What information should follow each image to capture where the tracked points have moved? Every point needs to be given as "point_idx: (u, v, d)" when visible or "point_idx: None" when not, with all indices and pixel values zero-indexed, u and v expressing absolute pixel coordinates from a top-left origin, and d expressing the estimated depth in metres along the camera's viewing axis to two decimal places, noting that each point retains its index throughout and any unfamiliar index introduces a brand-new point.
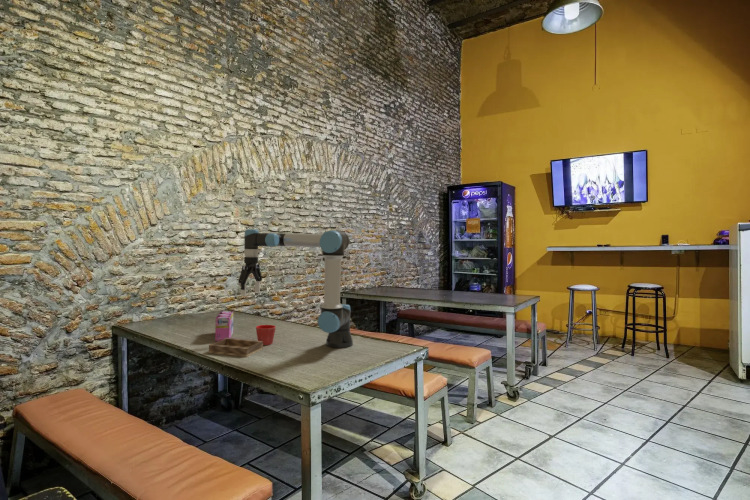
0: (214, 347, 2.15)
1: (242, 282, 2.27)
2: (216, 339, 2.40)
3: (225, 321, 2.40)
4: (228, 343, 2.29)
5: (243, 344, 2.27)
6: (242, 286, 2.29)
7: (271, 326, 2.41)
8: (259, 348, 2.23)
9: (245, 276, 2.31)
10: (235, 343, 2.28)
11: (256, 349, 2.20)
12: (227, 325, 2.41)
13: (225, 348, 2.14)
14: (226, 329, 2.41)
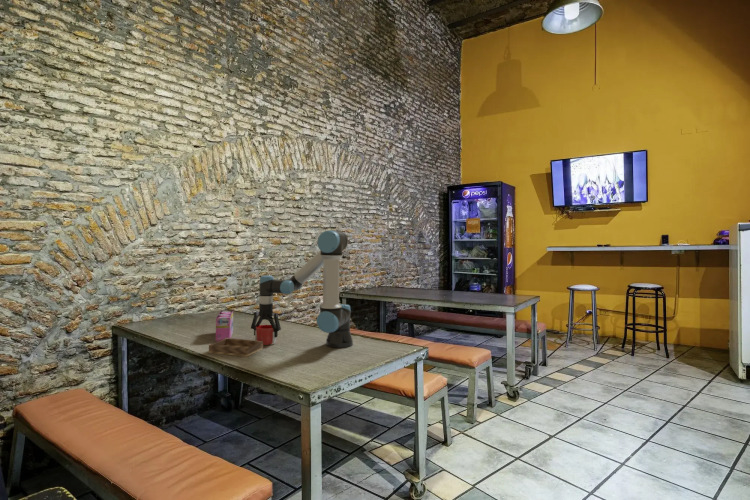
0: (214, 347, 2.15)
1: (251, 328, 2.37)
2: (216, 339, 2.39)
3: (226, 321, 2.40)
4: (228, 343, 2.29)
5: (243, 344, 2.27)
6: None
7: (271, 326, 2.41)
8: (259, 348, 2.23)
9: None
10: (235, 343, 2.28)
11: (256, 349, 2.20)
12: (227, 325, 2.41)
13: (225, 348, 2.14)
14: (226, 329, 2.40)
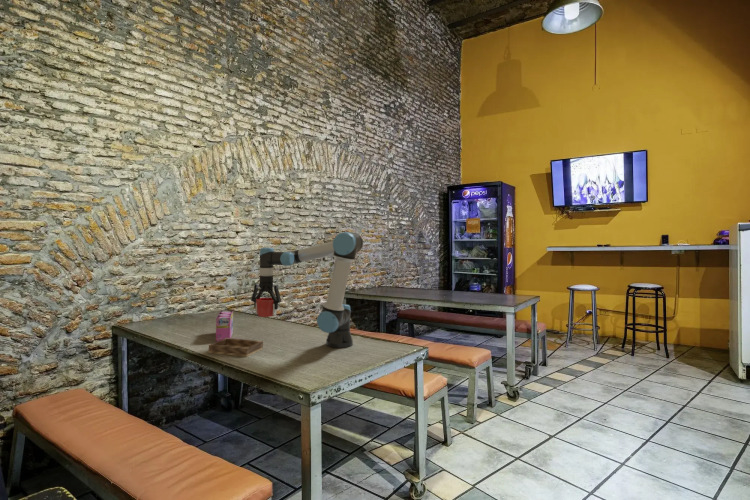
0: (214, 347, 2.15)
1: (251, 300, 2.37)
2: (217, 339, 2.39)
3: (226, 321, 2.40)
4: (228, 343, 2.29)
5: (243, 344, 2.27)
6: None
7: (271, 299, 2.40)
8: (259, 348, 2.23)
9: (257, 295, 2.37)
10: (235, 343, 2.28)
11: (256, 349, 2.20)
12: (228, 325, 2.40)
13: (225, 348, 2.14)
14: (227, 329, 2.40)
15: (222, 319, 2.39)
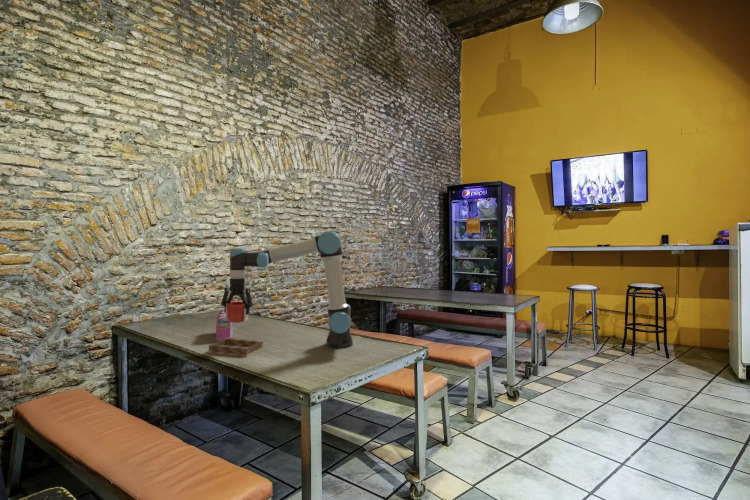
0: (214, 347, 2.15)
1: (221, 304, 2.21)
2: (217, 339, 2.39)
3: (226, 321, 2.40)
4: (228, 343, 2.29)
5: (243, 344, 2.27)
6: None
7: None
8: (259, 348, 2.23)
9: (228, 299, 2.21)
10: (235, 343, 2.28)
11: (256, 349, 2.20)
12: (228, 325, 2.40)
13: (225, 348, 2.14)
14: (227, 329, 2.40)
15: (222, 319, 2.39)
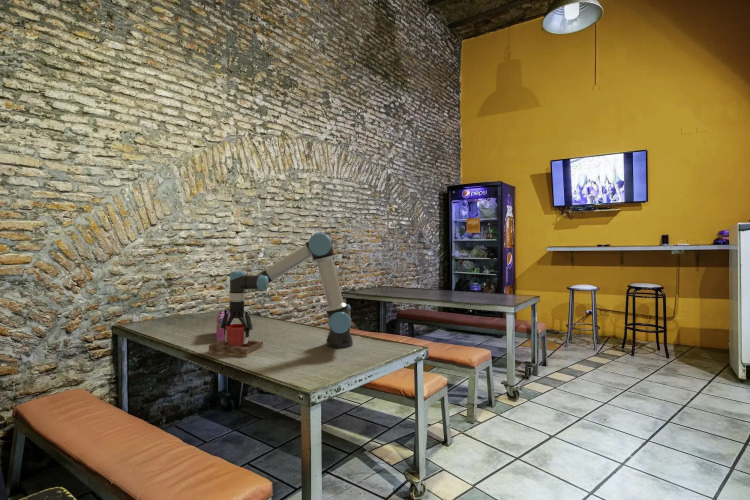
0: (214, 347, 2.15)
1: (221, 327, 2.22)
2: (217, 339, 2.39)
3: None
4: None
5: (243, 344, 2.27)
6: None
7: None
8: (259, 348, 2.23)
9: None
10: None
11: (256, 349, 2.20)
12: None
13: (225, 348, 2.14)
14: None
15: None
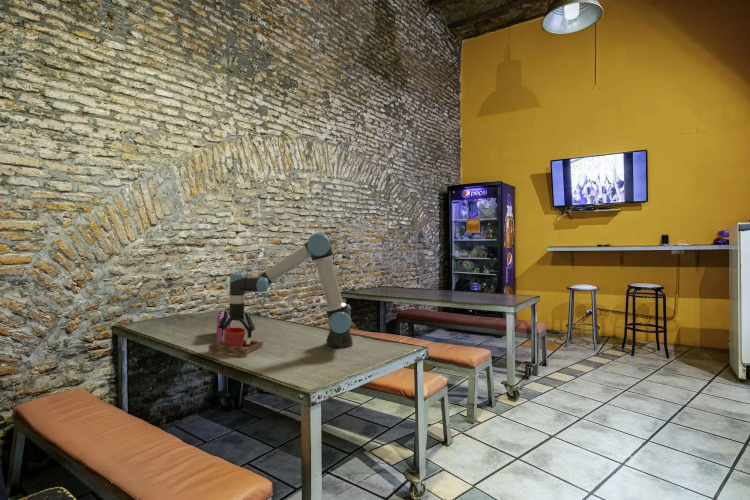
0: (214, 347, 2.15)
1: None
2: (217, 339, 2.39)
3: None
4: None
5: (243, 344, 2.27)
6: None
7: (241, 329, 2.25)
8: (259, 348, 2.23)
9: (226, 322, 2.22)
10: None
11: (256, 349, 2.20)
12: (228, 325, 2.40)
13: (225, 348, 2.14)
14: None
15: None
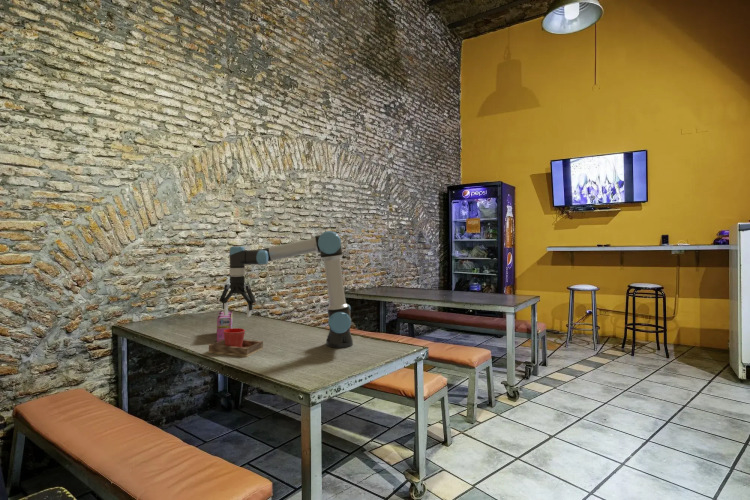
0: (214, 347, 2.15)
1: None
2: (218, 339, 2.39)
3: (227, 321, 2.40)
4: None
5: (243, 344, 2.27)
6: None
7: (240, 330, 2.26)
8: (259, 348, 2.23)
9: (227, 295, 2.21)
10: None
11: (256, 349, 2.20)
12: (229, 325, 2.40)
13: (225, 348, 2.14)
14: None
15: (223, 319, 2.39)
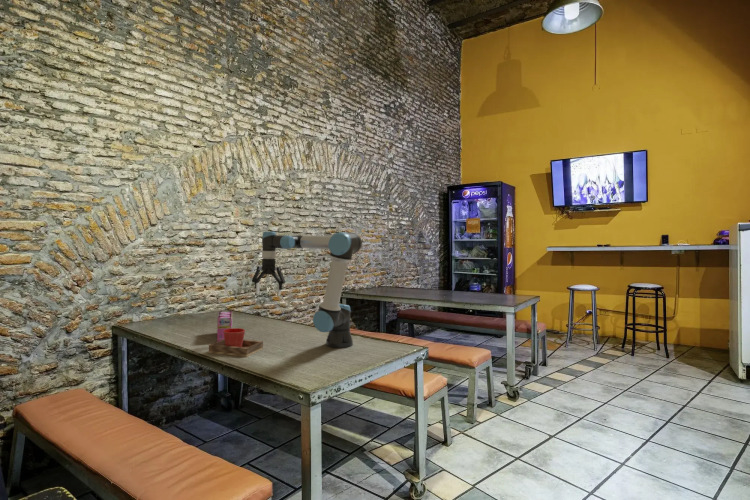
0: (214, 347, 2.15)
1: None
2: (218, 339, 2.39)
3: (227, 321, 2.40)
4: None
5: (243, 344, 2.27)
6: None
7: (240, 330, 2.26)
8: (259, 348, 2.23)
9: (259, 276, 2.43)
10: None
11: (256, 349, 2.20)
12: (229, 325, 2.40)
13: (225, 348, 2.14)
14: None
15: (223, 319, 2.39)
